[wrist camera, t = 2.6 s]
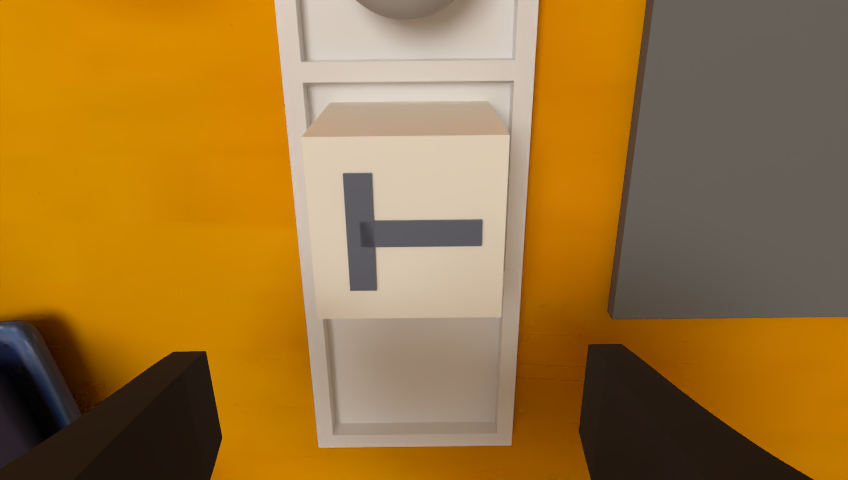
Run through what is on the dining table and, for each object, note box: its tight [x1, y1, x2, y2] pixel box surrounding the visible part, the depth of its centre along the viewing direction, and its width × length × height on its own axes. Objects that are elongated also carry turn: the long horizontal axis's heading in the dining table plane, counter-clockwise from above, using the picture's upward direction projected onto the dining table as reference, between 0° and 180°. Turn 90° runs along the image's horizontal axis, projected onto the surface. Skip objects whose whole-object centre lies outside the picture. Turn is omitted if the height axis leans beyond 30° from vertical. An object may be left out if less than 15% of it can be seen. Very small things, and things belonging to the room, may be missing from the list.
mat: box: [608, 0, 848, 319], centre depth 20 cm, size 11×11×1 cm
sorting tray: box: [275, 0, 539, 448], centre depth 19 cm, size 22×8×1 cm, turn 1°
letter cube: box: [301, 101, 510, 319], centre depth 17 cm, size 5×5×5 cm
